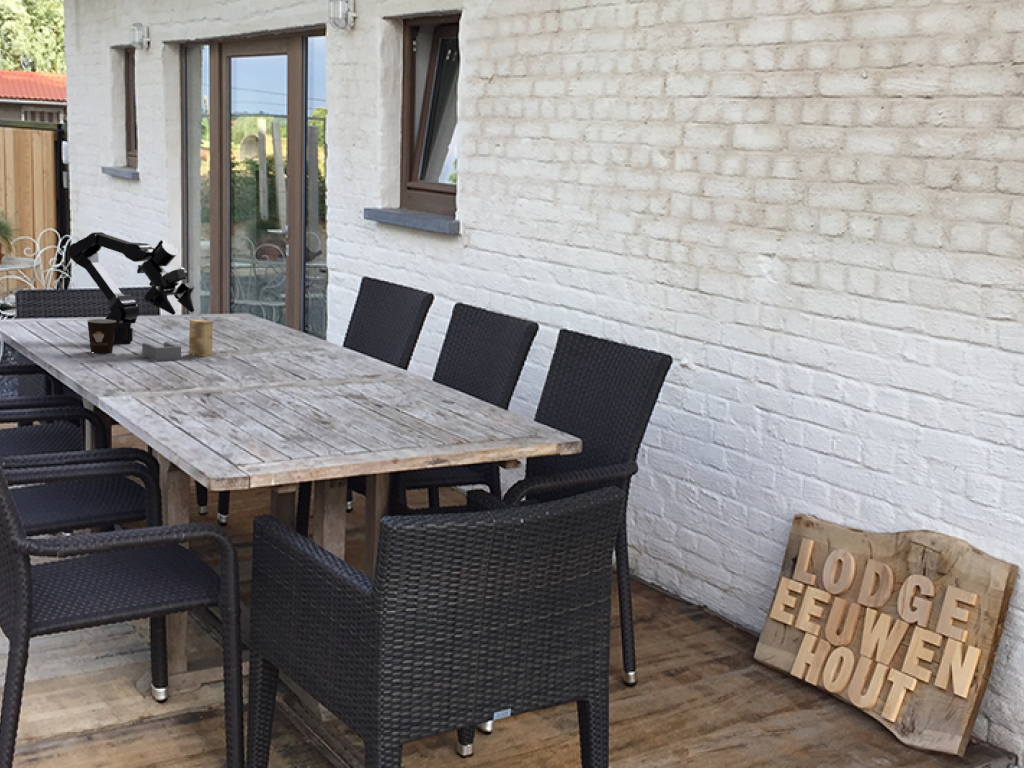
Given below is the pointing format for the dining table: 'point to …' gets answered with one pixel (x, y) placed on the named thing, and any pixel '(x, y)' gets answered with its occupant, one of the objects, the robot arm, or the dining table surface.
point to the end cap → (161, 351)
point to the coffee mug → (103, 335)
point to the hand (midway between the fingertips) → (183, 312)
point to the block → (200, 337)
